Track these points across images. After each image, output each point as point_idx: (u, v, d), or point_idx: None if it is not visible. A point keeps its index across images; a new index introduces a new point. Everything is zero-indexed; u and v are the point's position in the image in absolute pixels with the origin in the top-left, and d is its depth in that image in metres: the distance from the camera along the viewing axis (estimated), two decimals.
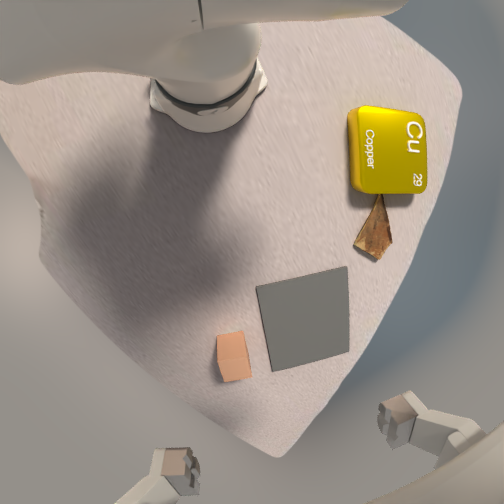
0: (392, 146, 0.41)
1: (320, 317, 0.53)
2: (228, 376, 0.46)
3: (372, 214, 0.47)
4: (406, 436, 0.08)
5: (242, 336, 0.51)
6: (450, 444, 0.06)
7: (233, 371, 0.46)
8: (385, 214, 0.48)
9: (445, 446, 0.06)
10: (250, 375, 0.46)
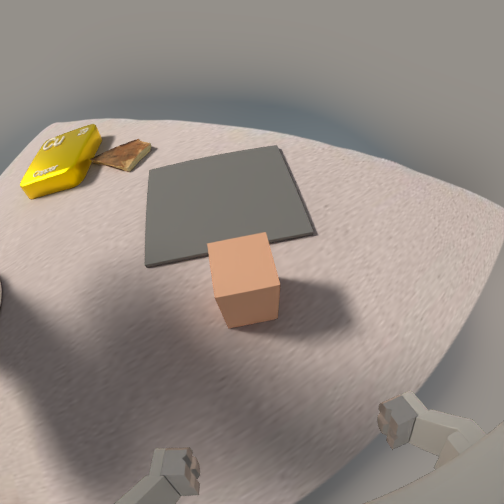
0: (51, 156, 0.42)
1: (210, 183, 0.38)
2: (261, 276, 0.22)
3: (103, 161, 0.43)
4: (406, 436, 0.08)
5: None
6: (450, 444, 0.06)
7: (247, 265, 0.22)
8: (108, 151, 0.44)
9: (445, 446, 0.06)
10: (260, 235, 0.24)
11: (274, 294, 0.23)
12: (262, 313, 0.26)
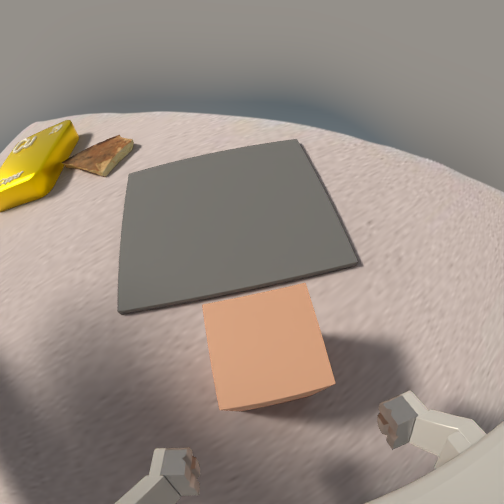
0: (19, 160, 0.32)
1: (209, 190, 0.27)
2: (302, 369, 0.11)
3: (76, 164, 0.32)
4: (406, 436, 0.08)
5: None
6: (450, 444, 0.06)
7: (277, 349, 0.12)
8: (83, 151, 0.34)
9: (445, 446, 0.06)
10: (296, 289, 0.13)
11: (320, 389, 0.12)
12: (293, 399, 0.15)
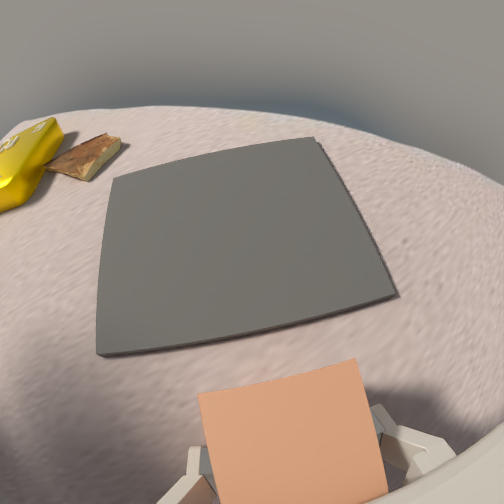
0: None
1: (208, 199, 0.22)
2: (346, 483, 0.06)
3: (57, 167, 0.27)
4: None
5: None
6: (415, 464, 0.06)
7: (312, 460, 0.06)
8: (65, 152, 0.29)
9: (411, 465, 0.06)
10: (343, 369, 0.08)
11: None
12: None
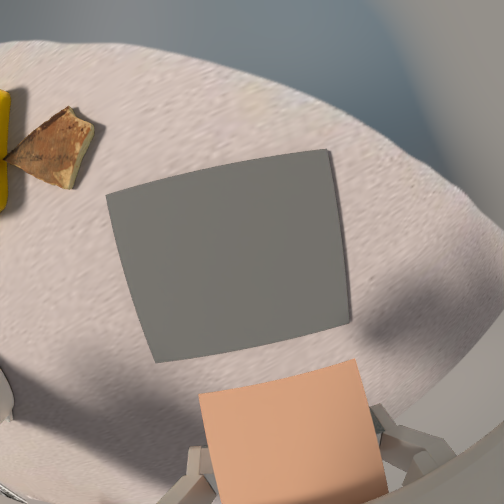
0: None
1: (218, 239, 0.24)
2: (346, 482, 0.06)
3: (25, 168, 0.21)
4: None
5: None
6: (415, 464, 0.06)
7: (312, 460, 0.07)
8: (25, 141, 0.20)
9: (411, 465, 0.06)
10: (342, 369, 0.08)
11: None
12: None
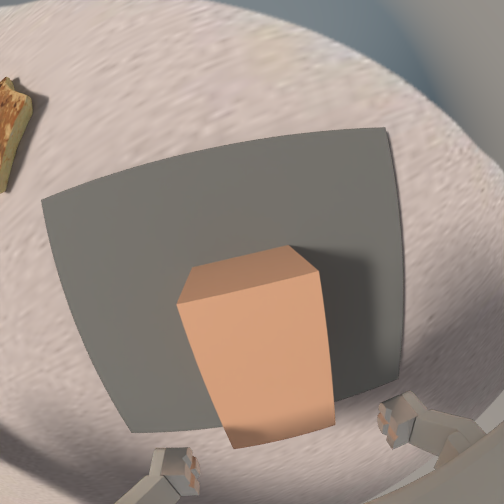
0: None
1: None
2: (279, 271, 0.11)
3: None
4: (406, 436, 0.08)
5: None
6: (450, 444, 0.06)
7: (253, 268, 0.12)
8: None
9: (445, 446, 0.06)
10: (279, 248, 0.14)
11: (313, 315, 0.10)
12: (300, 401, 0.11)
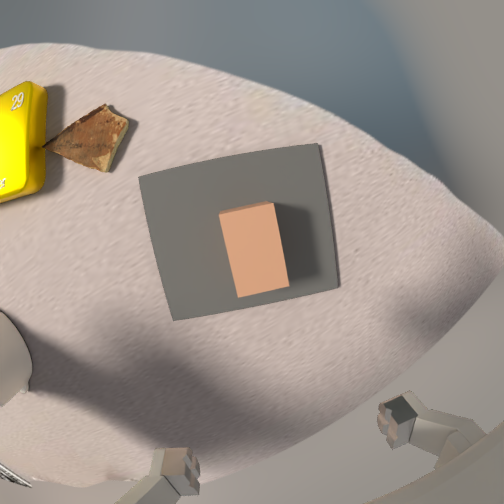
0: None
1: None
2: (258, 205, 0.26)
3: (64, 154, 0.27)
4: (406, 436, 0.08)
5: None
6: (450, 444, 0.06)
7: (249, 206, 0.27)
8: (65, 131, 0.26)
9: (445, 446, 0.06)
10: (262, 202, 0.30)
11: (272, 221, 0.26)
12: (269, 265, 0.27)
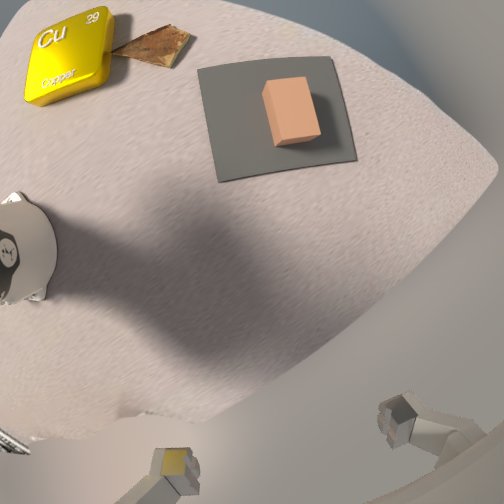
0: (58, 56, 0.27)
1: None
2: None
3: (132, 55, 0.31)
4: (406, 436, 0.08)
5: (272, 132, 0.36)
6: (450, 444, 0.06)
7: None
8: (133, 41, 0.31)
9: (445, 446, 0.06)
10: None
11: (305, 87, 0.31)
12: (305, 117, 0.31)
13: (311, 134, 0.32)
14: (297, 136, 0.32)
